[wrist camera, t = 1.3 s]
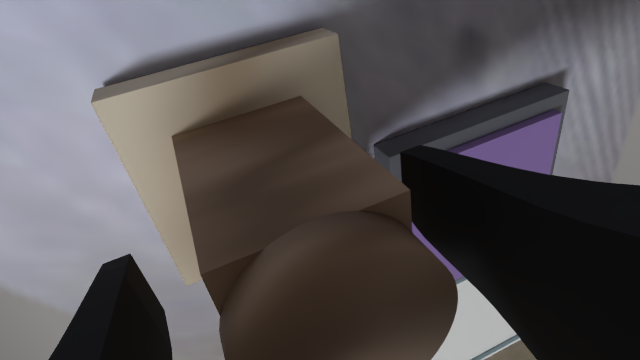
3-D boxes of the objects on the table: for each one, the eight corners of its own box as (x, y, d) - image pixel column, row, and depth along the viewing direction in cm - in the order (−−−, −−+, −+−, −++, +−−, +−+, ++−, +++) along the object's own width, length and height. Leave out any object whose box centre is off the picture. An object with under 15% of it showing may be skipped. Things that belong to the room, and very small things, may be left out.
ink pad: (546, 82, 18) (577, 92, 17) (521, 229, 23) (544, 245, 22) (373, 145, 16) (394, 162, 15) (388, 291, 21) (404, 313, 20)
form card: (553, 220, 24) (559, 223, 24) (529, 330, 30) (533, 334, 30) (396, 294, 21) (400, 299, 21) (404, 397, 27) (408, 402, 27)
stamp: (318, 26, 13) (536, 114, 6) (345, 195, 17) (496, 369, 10) (95, 86, 11) (34, 307, 4) (182, 259, 15) (224, 523, 8)
